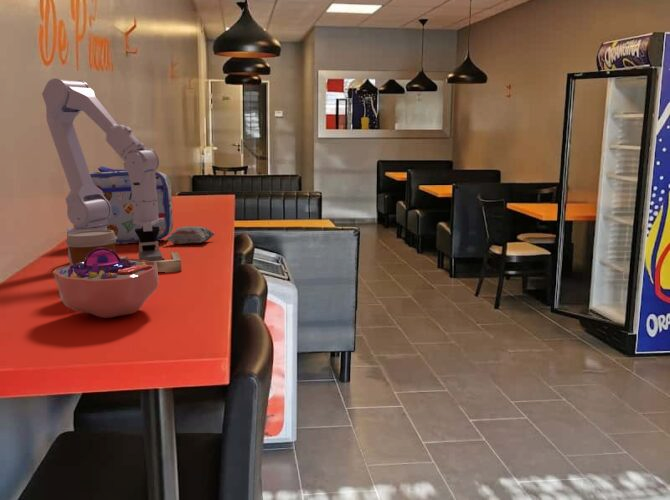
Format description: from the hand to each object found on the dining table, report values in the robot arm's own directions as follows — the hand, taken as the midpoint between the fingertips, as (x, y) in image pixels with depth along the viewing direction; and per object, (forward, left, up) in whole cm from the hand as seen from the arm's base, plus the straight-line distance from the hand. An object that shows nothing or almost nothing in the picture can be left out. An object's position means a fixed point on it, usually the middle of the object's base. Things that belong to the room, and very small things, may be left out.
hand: (149, 257), depth 169 cm
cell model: (-8, -48, -2) cm, 49 cm away
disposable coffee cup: (-11, -29, -2) cm, 31 cm away
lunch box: (-5, +39, -2) cm, 39 cm away
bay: (0, -7, -1) cm, 7 cm away
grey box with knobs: (0, -6, -1) cm, 6 cm away
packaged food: (+12, +27, -2) cm, 29 cm away
